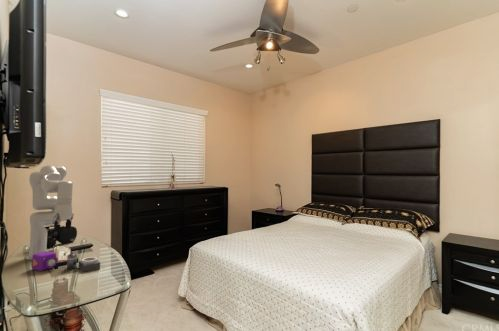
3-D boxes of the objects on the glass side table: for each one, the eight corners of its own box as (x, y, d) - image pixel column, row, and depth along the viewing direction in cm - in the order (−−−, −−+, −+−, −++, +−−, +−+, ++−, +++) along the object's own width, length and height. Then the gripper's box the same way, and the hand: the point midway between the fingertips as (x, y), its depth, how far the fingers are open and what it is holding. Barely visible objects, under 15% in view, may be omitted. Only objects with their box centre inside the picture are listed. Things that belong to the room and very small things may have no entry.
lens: (65, 267, 167) (66, 254, 168) (75, 265, 171) (76, 253, 171) (67, 270, 164) (68, 256, 164) (77, 268, 167) (78, 254, 168)
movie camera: (42, 251, 197) (44, 227, 199) (28, 248, 204) (30, 225, 206) (83, 243, 225) (84, 222, 227) (69, 242, 232) (71, 221, 234)
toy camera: (46, 273, 158) (47, 256, 158) (27, 270, 160) (28, 254, 161) (62, 267, 168) (63, 251, 169) (44, 264, 171) (45, 249, 171)
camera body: (78, 267, 169) (78, 258, 169) (94, 264, 176) (94, 255, 176) (83, 272, 161) (84, 262, 161) (100, 268, 167) (100, 259, 168)
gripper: (67, 200, 170) (66, 227, 169) (47, 202, 152) (45, 232, 152) (79, 200, 170) (78, 227, 169) (60, 202, 152) (58, 232, 152)
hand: (62, 229), depth 160 cm, fingers open, 9 cm apart
